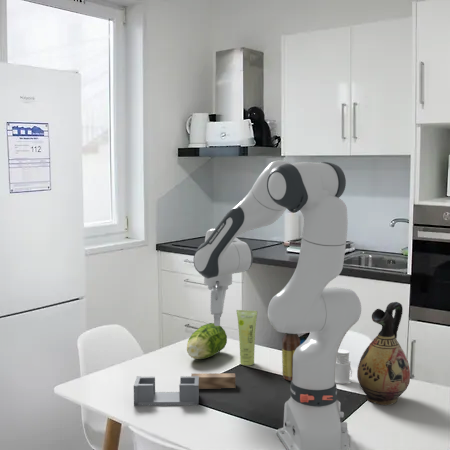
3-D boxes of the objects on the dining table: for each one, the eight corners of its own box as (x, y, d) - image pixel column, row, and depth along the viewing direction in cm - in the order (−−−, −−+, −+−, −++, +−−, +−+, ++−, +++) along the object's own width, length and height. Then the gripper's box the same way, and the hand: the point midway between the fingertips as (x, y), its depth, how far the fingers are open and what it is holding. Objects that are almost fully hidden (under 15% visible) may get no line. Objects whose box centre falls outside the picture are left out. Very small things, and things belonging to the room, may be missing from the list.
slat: (234, 385, 198) (235, 373, 198) (235, 389, 195) (235, 377, 194) (191, 385, 198) (191, 373, 197) (191, 389, 194) (191, 377, 194)
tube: (243, 367, 215) (243, 312, 212) (236, 362, 219) (236, 309, 217) (256, 364, 217) (257, 310, 215) (249, 360, 222) (250, 307, 220)
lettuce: (177, 364, 218) (177, 333, 216) (202, 348, 237) (202, 319, 235) (207, 368, 213) (207, 336, 212) (229, 351, 232) (229, 322, 231)
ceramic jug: (388, 414, 175) (392, 311, 172) (346, 398, 187) (348, 301, 184) (422, 399, 186) (426, 302, 183) (380, 385, 198) (383, 294, 195)
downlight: (334, 385, 198) (336, 355, 197) (324, 378, 204) (326, 348, 203) (356, 383, 200) (358, 353, 199) (345, 376, 207) (347, 347, 206)
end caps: (198, 394, 189) (198, 376, 188) (198, 405, 181) (198, 385, 180) (137, 395, 189) (136, 376, 188) (133, 405, 181) (133, 385, 180)
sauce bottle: (301, 375, 206) (302, 317, 204) (301, 382, 200) (302, 322, 198) (281, 374, 207) (282, 317, 205) (281, 381, 201) (282, 322, 199)
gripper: (227, 286, 182) (226, 330, 184) (229, 271, 203) (228, 312, 205) (205, 285, 183) (205, 330, 185) (210, 271, 203) (209, 311, 205)
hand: (217, 320), depth 195 cm, fingers open, 8 cm apart
